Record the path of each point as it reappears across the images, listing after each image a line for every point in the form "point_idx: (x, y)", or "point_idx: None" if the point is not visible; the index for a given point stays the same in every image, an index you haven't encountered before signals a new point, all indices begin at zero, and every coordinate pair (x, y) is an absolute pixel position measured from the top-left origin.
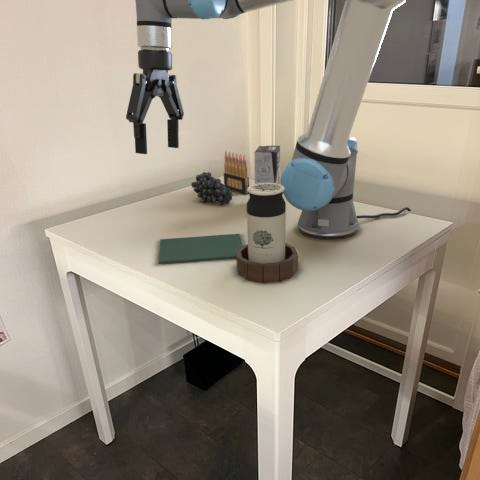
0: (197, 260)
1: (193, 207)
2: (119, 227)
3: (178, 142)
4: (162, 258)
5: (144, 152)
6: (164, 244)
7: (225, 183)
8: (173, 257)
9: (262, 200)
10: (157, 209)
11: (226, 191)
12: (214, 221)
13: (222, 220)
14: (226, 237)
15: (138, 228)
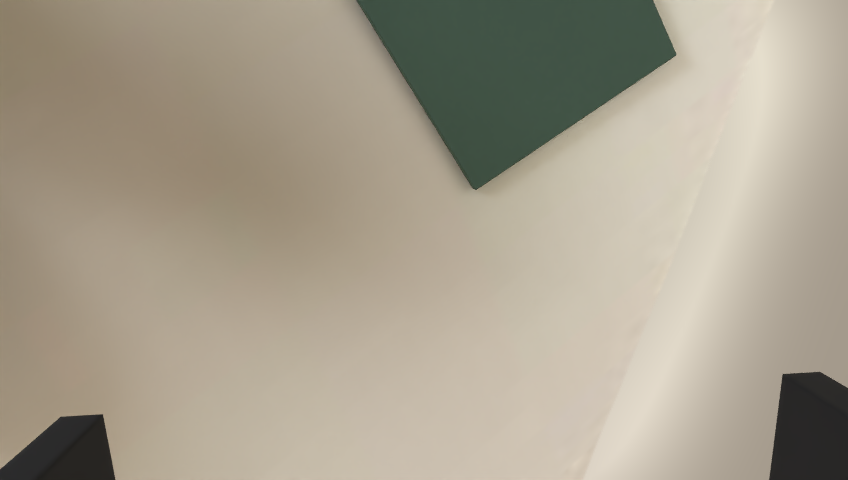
0: None
1: (2, 322)
2: (404, 443)
3: (9, 462)
4: (645, 58)
5: (834, 390)
6: (519, 139)
7: None
8: (624, 19)
9: None
10: (134, 458)
11: None
12: (135, 93)
13: (97, 58)
14: None
15: (382, 370)
